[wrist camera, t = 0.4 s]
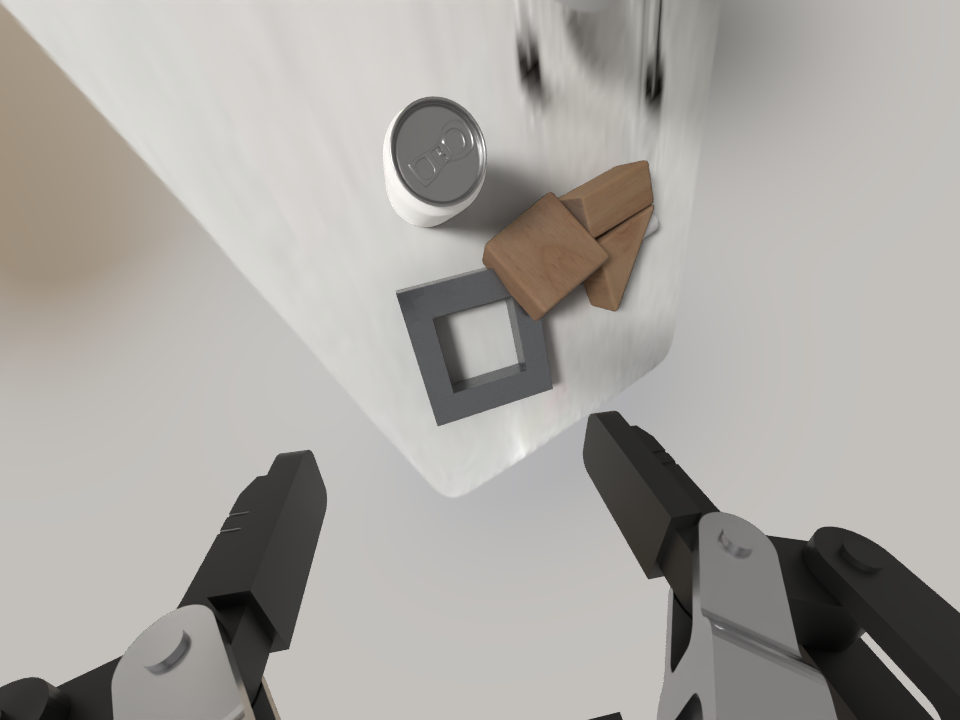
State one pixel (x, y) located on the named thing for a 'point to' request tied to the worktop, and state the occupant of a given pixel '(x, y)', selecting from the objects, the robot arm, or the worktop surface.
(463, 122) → the can
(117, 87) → the worktop surface
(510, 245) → the wooden blocks
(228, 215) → the worktop surface
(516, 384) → the gray square frame plate
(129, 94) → the worktop surface
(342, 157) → the worktop surface
